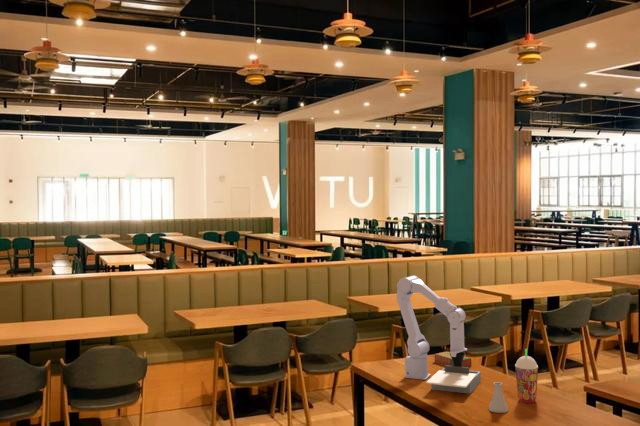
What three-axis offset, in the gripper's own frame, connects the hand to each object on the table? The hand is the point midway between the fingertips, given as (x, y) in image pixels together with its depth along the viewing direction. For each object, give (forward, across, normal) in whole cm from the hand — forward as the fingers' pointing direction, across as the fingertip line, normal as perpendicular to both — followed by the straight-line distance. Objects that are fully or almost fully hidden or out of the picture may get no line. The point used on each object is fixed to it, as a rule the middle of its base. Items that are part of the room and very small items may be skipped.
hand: (458, 369), depth 269 cm
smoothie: (+6, -13, -30) cm, 33 cm away
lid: (+1, -10, 0) cm, 10 cm away
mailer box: (+6, -3, 0) cm, 6 cm away
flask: (+6, -27, -22) cm, 35 cm away
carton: (+6, +28, +10) cm, 30 cm away
